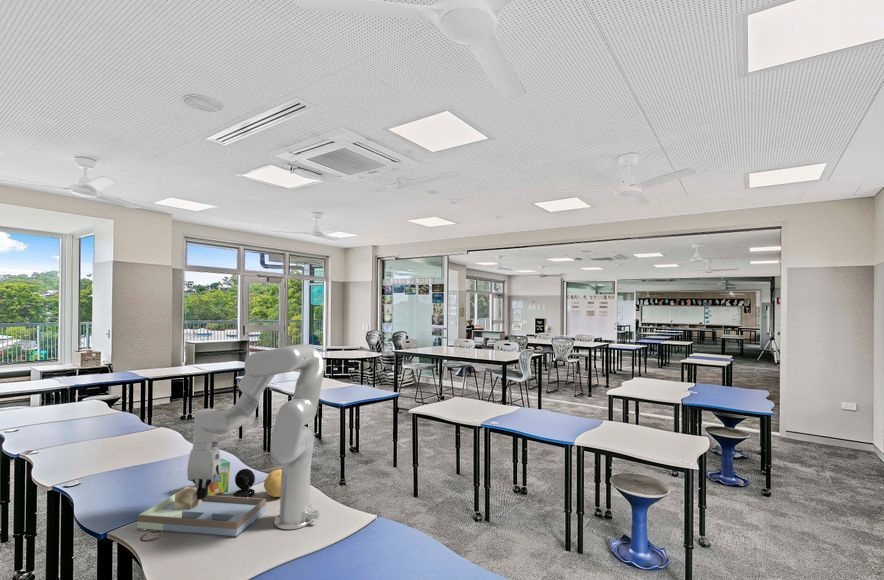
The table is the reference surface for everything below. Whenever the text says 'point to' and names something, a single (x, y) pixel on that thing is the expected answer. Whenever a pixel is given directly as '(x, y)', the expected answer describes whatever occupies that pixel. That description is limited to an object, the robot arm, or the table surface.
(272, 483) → the stress ball
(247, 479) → the webcam
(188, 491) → the block
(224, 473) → the chalk box
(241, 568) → the table surface
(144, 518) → the box
